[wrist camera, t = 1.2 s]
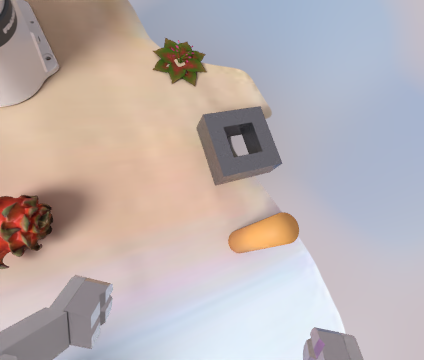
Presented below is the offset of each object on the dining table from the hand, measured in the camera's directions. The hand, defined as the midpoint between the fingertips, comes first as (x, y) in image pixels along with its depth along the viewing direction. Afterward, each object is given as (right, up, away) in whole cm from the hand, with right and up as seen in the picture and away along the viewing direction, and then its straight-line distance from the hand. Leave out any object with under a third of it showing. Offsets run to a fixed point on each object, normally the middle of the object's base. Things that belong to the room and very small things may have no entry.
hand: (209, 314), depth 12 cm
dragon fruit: (-29, -2, +31) cm, 42 cm away
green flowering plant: (-7, +30, +49) cm, 57 cm away
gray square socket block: (+4, +11, +45) cm, 47 cm away
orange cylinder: (+5, -6, +40) cm, 41 cm away
